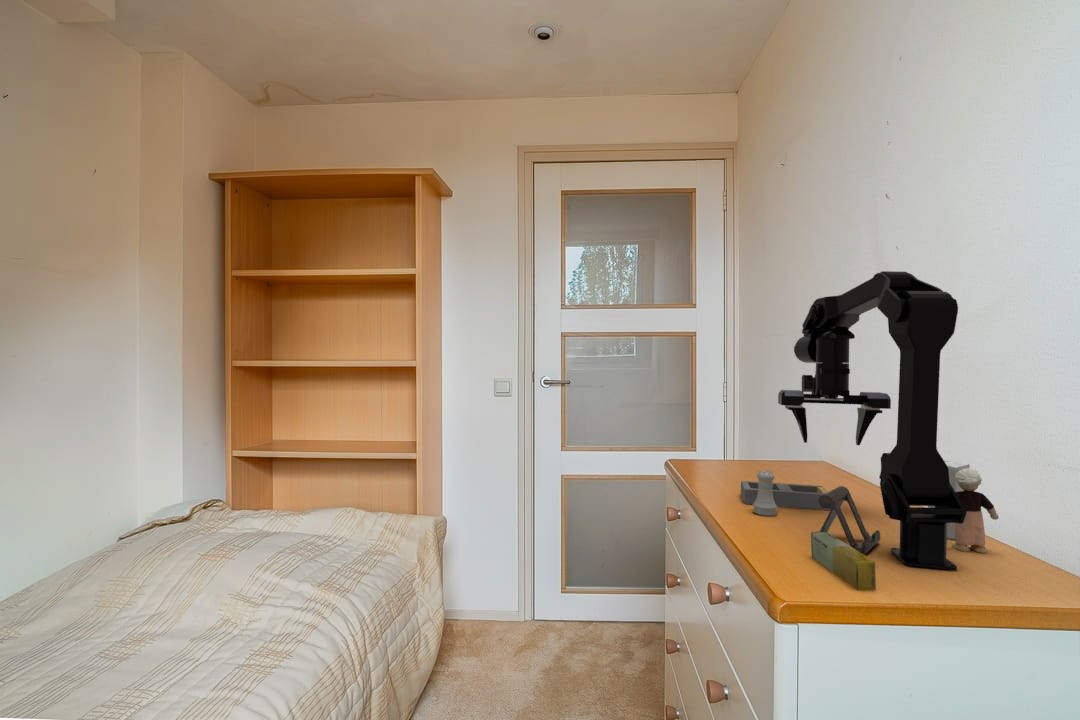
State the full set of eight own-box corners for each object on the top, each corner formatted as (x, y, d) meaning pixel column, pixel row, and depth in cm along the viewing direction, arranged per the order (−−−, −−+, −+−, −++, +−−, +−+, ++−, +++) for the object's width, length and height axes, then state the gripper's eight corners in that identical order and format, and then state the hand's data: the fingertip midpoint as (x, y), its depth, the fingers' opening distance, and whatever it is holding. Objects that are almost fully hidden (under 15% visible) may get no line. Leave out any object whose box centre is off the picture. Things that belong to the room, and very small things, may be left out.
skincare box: (955, 541, 92) (957, 467, 92) (925, 533, 95) (926, 462, 95) (971, 534, 95) (972, 463, 95) (941, 527, 99) (942, 459, 99)
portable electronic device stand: (865, 558, 83) (866, 502, 83) (809, 545, 89) (810, 492, 89) (880, 544, 90) (881, 492, 90) (827, 532, 95) (828, 483, 95)
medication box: (809, 557, 84) (809, 531, 84) (827, 557, 84) (827, 530, 84) (857, 592, 72) (856, 561, 72) (877, 591, 72) (877, 560, 72)
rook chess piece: (781, 517, 104) (782, 474, 104) (757, 516, 104) (758, 473, 104) (772, 510, 109) (772, 469, 108) (748, 510, 109) (749, 468, 109)
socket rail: (831, 510, 109) (832, 495, 109) (744, 504, 113) (745, 489, 113) (821, 500, 117) (822, 485, 117) (740, 494, 121) (740, 480, 121)
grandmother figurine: (984, 546, 89) (985, 466, 89) (1001, 554, 86) (1003, 471, 85) (932, 543, 90) (934, 465, 90) (947, 552, 86) (949, 470, 86)
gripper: (874, 363, 113) (873, 440, 114) (775, 362, 119) (774, 436, 119) (892, 363, 103) (891, 448, 103) (782, 362, 108) (781, 443, 108)
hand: (831, 443), depth 108 cm, fingers open, 9 cm apart
